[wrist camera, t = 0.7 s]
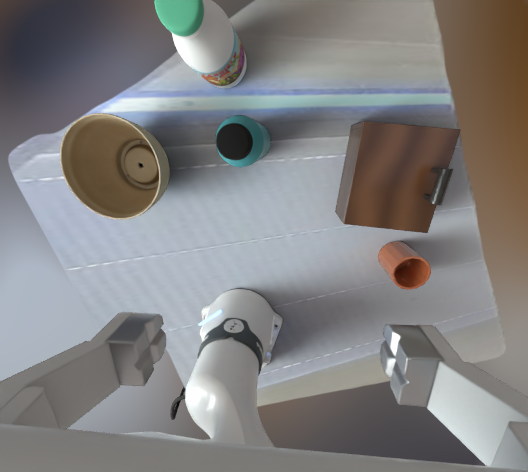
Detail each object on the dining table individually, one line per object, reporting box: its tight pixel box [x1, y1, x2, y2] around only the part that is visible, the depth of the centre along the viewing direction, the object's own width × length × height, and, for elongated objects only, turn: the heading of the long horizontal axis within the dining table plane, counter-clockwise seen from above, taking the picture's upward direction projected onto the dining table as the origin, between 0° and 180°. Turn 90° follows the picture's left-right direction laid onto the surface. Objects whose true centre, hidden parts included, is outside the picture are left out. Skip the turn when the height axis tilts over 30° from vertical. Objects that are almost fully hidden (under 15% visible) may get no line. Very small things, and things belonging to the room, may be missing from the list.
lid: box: [343, 121, 460, 233], centre depth 38 cm, size 14×16×5 cm
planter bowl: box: [60, 113, 170, 220], centre depth 45 cm, size 16×16×11 cm
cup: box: [378, 241, 431, 290], centre depth 49 cm, size 6×6×8 cm
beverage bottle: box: [216, 115, 271, 167], centre depth 38 cm, size 6×7×20 cm
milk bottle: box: [155, 0, 247, 89], centre depth 34 cm, size 8×8×20 cm
